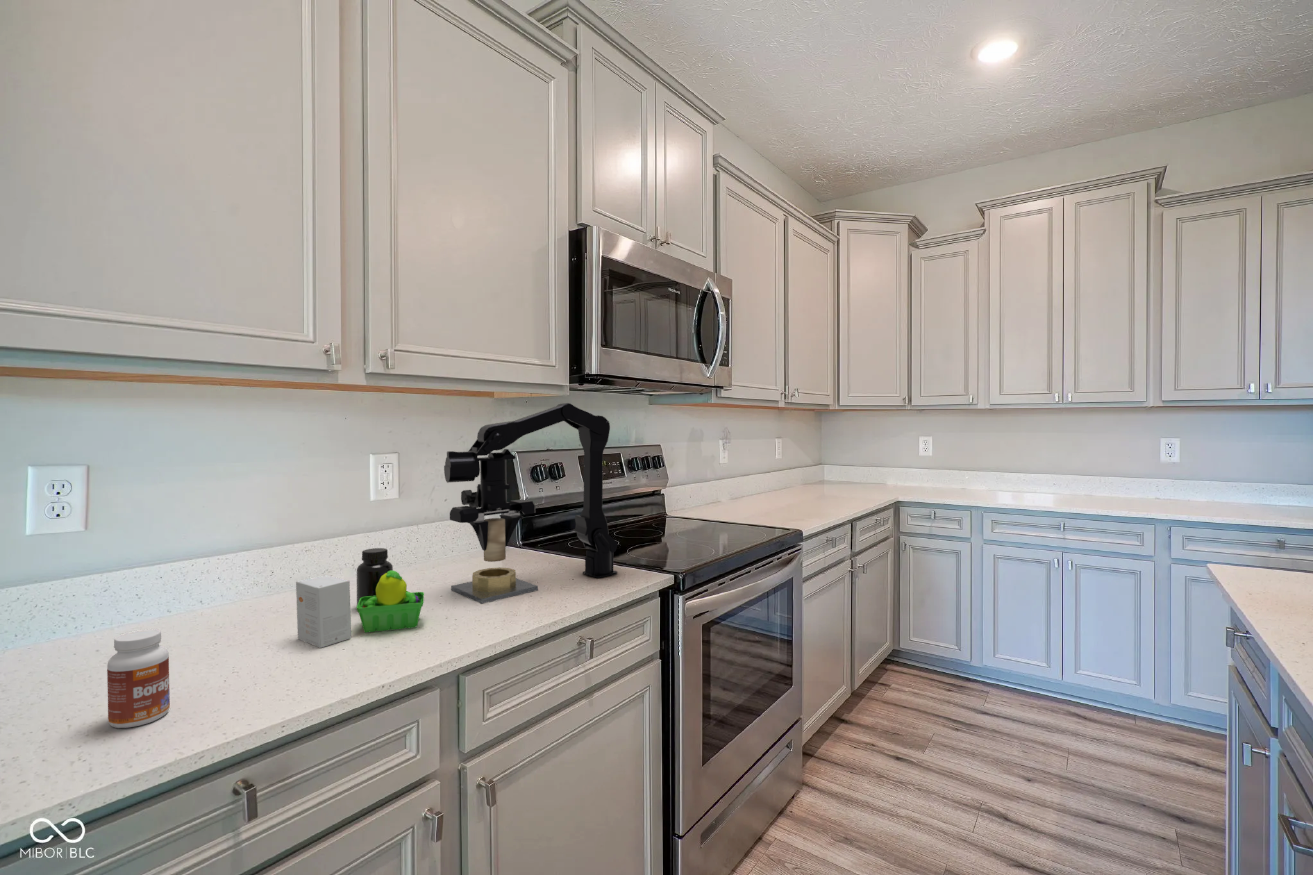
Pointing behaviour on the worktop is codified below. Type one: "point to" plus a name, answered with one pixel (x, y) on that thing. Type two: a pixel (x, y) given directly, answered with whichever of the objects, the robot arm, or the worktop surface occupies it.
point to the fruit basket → (390, 605)
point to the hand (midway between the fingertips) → (494, 548)
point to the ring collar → (493, 585)
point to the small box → (323, 610)
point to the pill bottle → (138, 679)
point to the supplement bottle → (371, 571)
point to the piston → (495, 540)
